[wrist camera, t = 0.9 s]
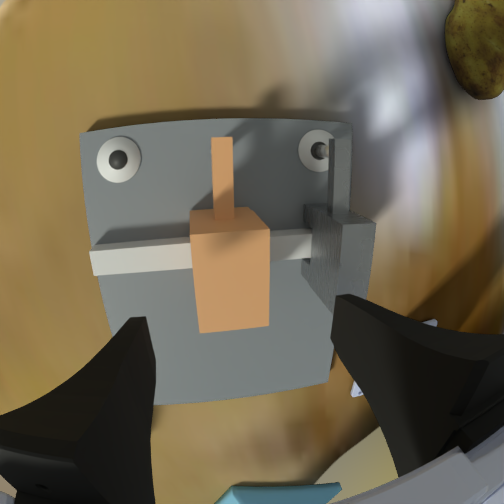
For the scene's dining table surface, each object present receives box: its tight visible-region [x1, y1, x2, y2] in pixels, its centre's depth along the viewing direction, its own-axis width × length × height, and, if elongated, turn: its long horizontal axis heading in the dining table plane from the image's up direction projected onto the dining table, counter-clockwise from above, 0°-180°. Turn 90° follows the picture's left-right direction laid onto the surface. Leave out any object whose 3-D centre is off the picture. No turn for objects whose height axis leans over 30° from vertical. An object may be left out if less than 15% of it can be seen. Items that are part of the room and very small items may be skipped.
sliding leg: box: [190, 137, 270, 333], centre depth 16 cm, size 4×9×6 cm, turn 0°
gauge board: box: [80, 118, 352, 405], centre depth 21 cm, size 18×22×2 cm
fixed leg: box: [301, 139, 376, 315], centre depth 18 cm, size 2×9×6 cm, turn 0°
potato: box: [445, 0, 504, 100], centre depth 14 cm, size 8×13×8 cm, turn 150°
